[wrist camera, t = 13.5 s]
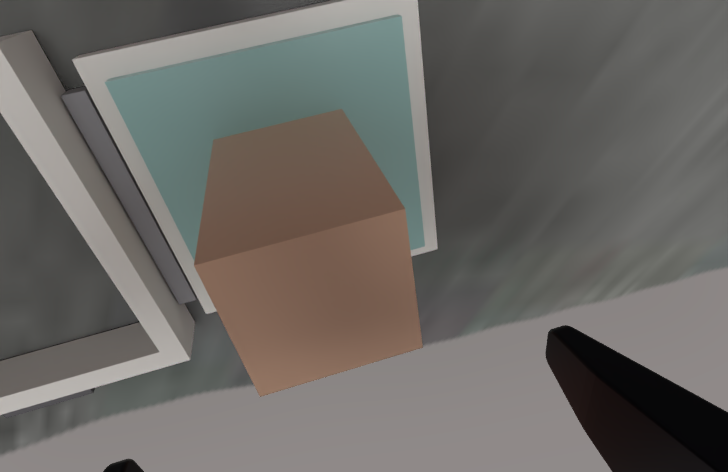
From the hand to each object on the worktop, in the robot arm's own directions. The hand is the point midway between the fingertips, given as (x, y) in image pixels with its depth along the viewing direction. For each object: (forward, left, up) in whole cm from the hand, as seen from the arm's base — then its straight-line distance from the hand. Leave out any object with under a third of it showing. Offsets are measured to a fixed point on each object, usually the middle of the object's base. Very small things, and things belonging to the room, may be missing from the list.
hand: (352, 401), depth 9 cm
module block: (0, 0, -11) cm, 11 cm away
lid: (0, 0, -12) cm, 12 cm away
